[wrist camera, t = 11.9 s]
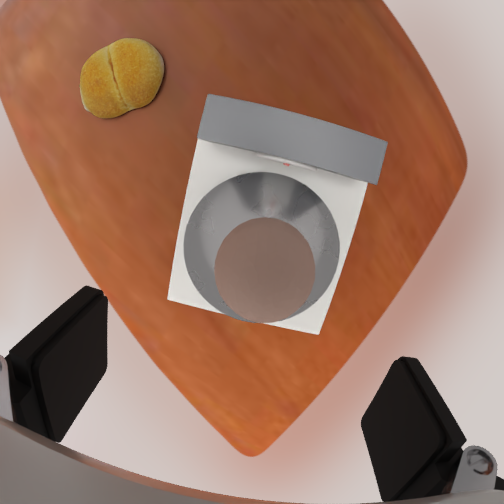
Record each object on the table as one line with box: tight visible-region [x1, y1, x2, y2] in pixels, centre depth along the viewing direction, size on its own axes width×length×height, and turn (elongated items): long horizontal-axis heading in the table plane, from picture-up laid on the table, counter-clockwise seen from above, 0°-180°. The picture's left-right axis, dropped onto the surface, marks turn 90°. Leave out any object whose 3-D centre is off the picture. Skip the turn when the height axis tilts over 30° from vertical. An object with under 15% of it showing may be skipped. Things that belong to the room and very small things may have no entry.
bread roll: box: [79, 38, 164, 118], centre depth 26 cm, size 8×9×4 cm
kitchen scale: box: [168, 94, 388, 335], centre depth 26 cm, size 17×14×10 cm
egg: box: [214, 217, 315, 323], centre depth 21 cm, size 7×7×9 cm
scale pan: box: [183, 172, 340, 323], centre depth 26 cm, size 13×13×1 cm
